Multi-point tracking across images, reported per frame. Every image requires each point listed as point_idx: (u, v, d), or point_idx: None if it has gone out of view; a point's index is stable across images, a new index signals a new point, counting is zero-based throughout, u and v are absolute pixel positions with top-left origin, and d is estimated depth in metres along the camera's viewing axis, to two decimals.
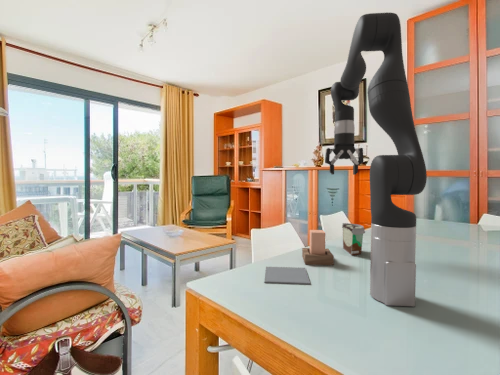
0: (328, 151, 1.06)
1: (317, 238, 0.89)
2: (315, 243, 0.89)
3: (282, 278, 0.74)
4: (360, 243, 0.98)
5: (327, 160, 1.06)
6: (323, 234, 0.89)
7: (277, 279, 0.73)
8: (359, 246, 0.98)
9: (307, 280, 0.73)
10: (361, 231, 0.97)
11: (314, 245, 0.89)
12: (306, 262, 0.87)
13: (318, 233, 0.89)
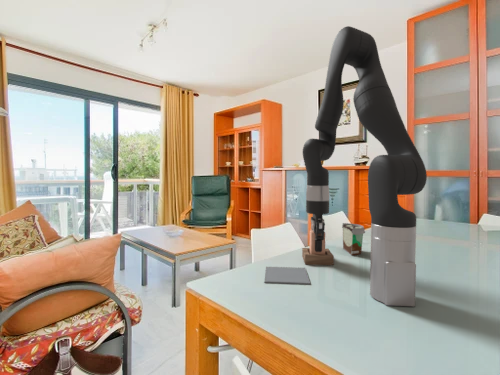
0: None
1: None
2: None
3: (282, 278, 0.74)
4: (360, 243, 0.98)
5: None
6: None
7: (277, 279, 0.73)
8: (359, 246, 0.98)
9: (307, 280, 0.73)
10: (361, 231, 0.97)
11: (314, 245, 0.89)
12: (306, 262, 0.87)
13: (318, 233, 0.89)
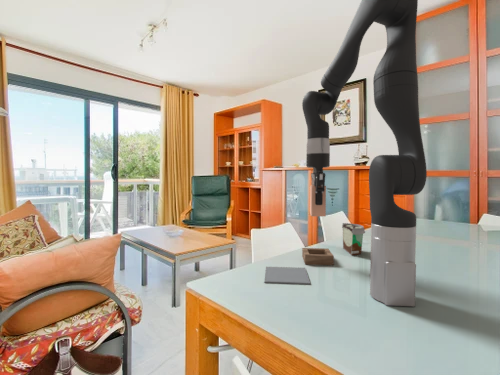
0: (324, 177, 0.84)
1: None
2: None
3: (282, 278, 0.74)
4: (360, 243, 0.98)
5: None
6: None
7: (277, 279, 0.73)
8: (359, 246, 0.98)
9: (307, 280, 0.73)
10: (361, 231, 0.97)
11: None
12: (306, 262, 0.87)
13: (318, 186, 0.88)
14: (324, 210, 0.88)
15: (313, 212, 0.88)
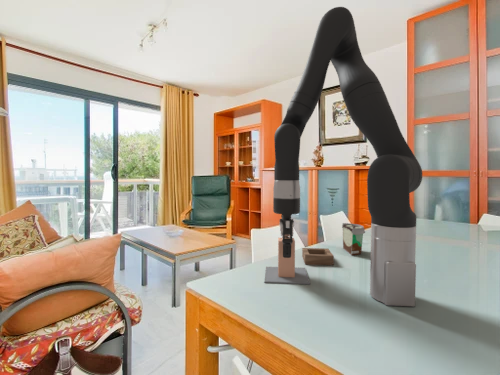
0: (292, 225, 0.71)
1: None
2: None
3: (282, 278, 0.74)
4: (360, 243, 0.98)
5: None
6: (292, 243, 0.75)
7: (277, 279, 0.73)
8: (359, 246, 0.98)
9: (307, 280, 0.73)
10: (361, 231, 0.97)
11: (282, 256, 0.75)
12: (306, 262, 0.87)
13: None
14: (293, 270, 0.75)
15: (280, 272, 0.75)
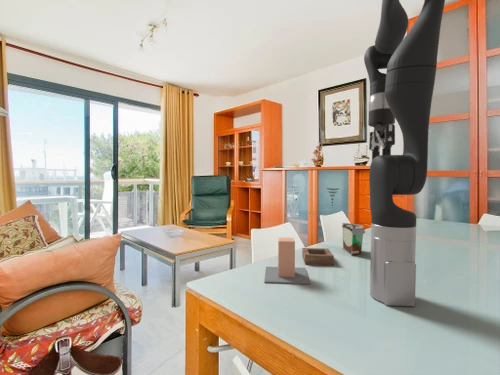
0: None
1: (285, 247, 0.75)
2: (283, 254, 0.75)
3: (282, 278, 0.74)
4: (360, 243, 0.98)
5: None
6: (292, 243, 0.75)
7: (277, 279, 0.73)
8: (359, 246, 0.98)
9: (307, 280, 0.73)
10: (361, 231, 0.97)
11: (282, 256, 0.75)
12: (306, 262, 0.87)
13: (286, 242, 0.75)
14: (293, 270, 0.75)
15: (280, 272, 0.75)
